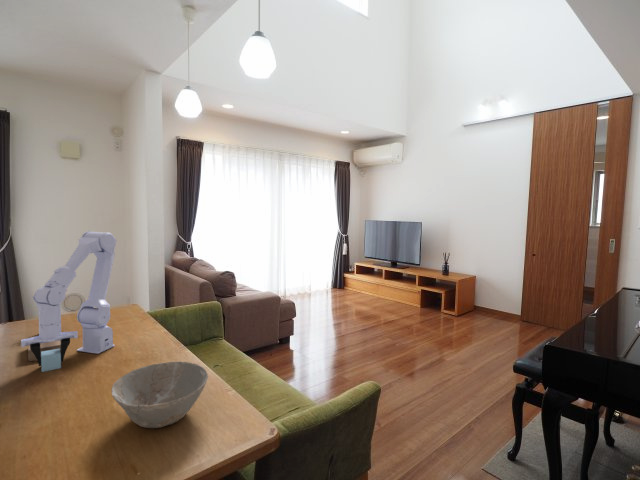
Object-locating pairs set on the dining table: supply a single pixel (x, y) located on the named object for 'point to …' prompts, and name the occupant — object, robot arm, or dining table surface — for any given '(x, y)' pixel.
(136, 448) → the dining table surface
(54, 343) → the walnut block
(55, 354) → the blue cube
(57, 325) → the robot arm
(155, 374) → the ceramic bowl
